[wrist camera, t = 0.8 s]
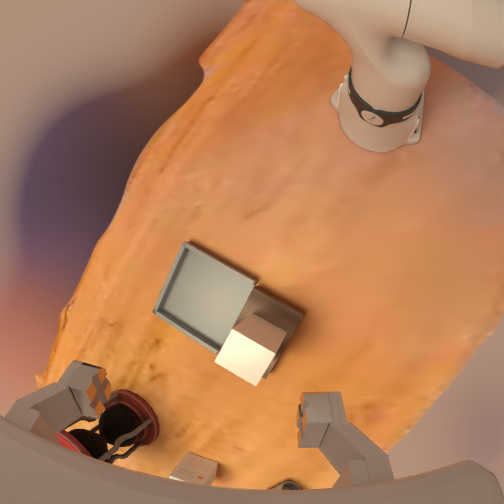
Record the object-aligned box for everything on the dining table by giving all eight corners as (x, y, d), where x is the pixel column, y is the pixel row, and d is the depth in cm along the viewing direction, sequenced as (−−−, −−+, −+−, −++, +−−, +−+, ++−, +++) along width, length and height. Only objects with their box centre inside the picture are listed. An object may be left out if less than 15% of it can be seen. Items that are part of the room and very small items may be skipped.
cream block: (252, 312, 53) (232, 328, 42) (287, 332, 52) (275, 353, 40) (237, 340, 54) (214, 361, 42) (271, 359, 52) (255, 386, 41)
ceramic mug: (260, 488, 56) (253, 509, 48) (285, 475, 54) (279, 496, 47) (290, 508, 54) (285, 529, 47) (315, 496, 53) (312, 517, 45)
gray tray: (189, 241, 60) (183, 241, 57) (257, 280, 56) (254, 281, 54) (158, 310, 61) (152, 312, 59) (220, 350, 58) (216, 354, 55)
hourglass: (99, 390, 66) (31, 425, 42) (144, 387, 63) (73, 433, 38) (122, 441, 65) (65, 485, 41) (169, 443, 61) (112, 500, 37)
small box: (186, 466, 60) (168, 489, 50) (187, 451, 60) (168, 474, 50) (216, 476, 58) (201, 502, 48) (219, 462, 58) (202, 488, 48)
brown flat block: (257, 286, 56) (253, 287, 53) (304, 312, 54) (303, 315, 51) (224, 347, 58) (219, 352, 55) (268, 373, 56) (265, 378, 53)
